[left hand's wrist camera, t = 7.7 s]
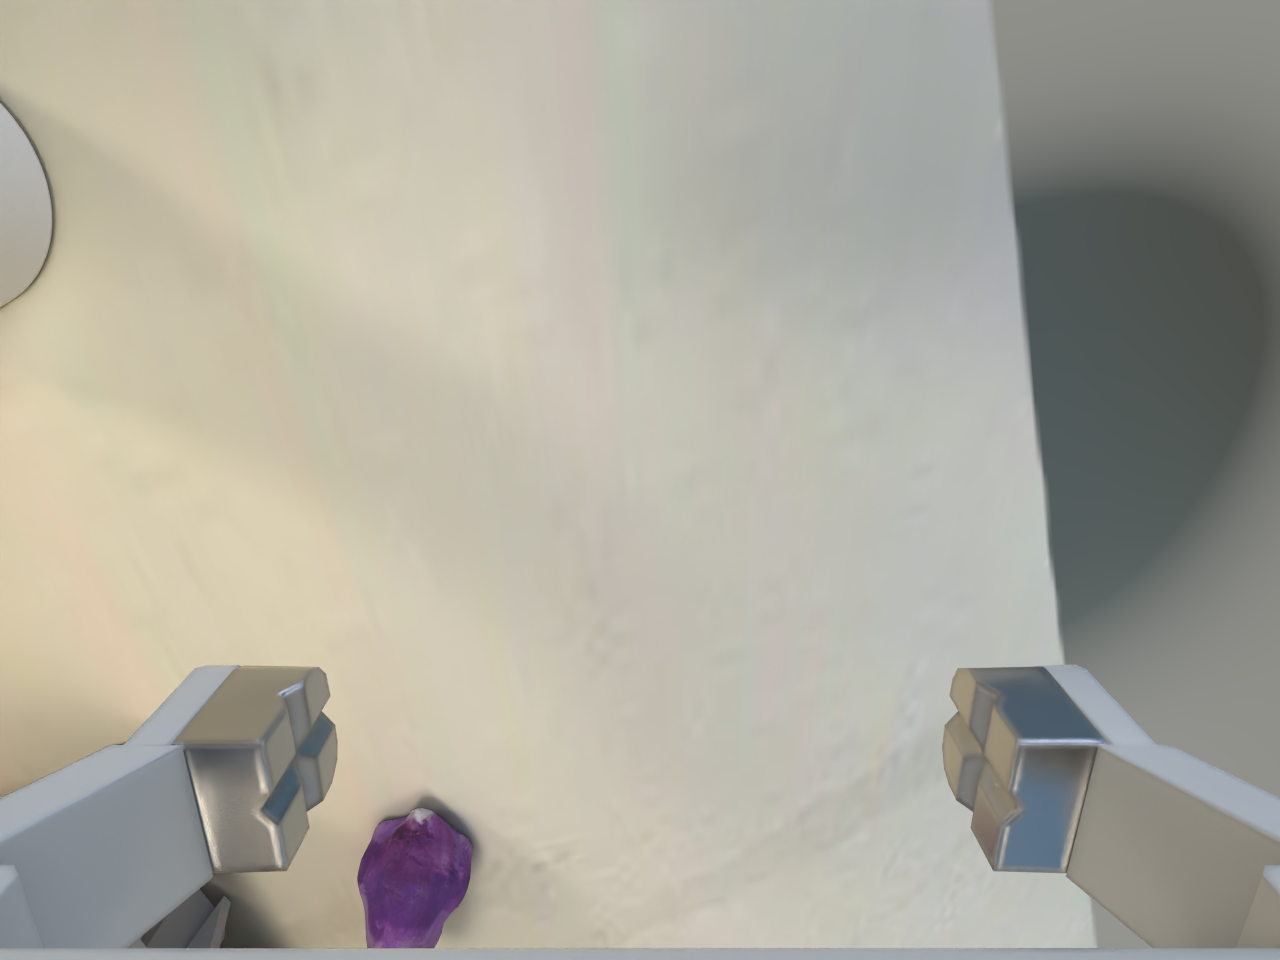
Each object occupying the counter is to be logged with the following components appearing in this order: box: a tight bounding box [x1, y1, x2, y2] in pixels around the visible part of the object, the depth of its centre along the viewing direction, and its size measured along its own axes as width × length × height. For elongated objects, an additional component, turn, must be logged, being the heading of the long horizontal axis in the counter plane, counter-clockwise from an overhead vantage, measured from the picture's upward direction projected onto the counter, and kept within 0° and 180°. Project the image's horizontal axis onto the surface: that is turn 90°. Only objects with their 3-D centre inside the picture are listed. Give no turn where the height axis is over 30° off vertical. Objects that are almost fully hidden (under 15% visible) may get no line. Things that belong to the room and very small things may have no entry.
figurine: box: [358, 808, 473, 948], centre depth 57 cm, size 9×10×15 cm
